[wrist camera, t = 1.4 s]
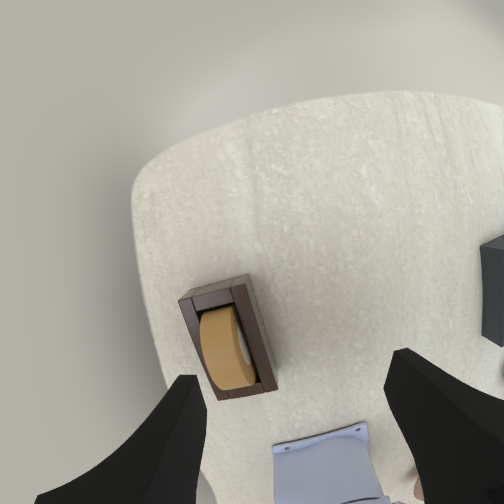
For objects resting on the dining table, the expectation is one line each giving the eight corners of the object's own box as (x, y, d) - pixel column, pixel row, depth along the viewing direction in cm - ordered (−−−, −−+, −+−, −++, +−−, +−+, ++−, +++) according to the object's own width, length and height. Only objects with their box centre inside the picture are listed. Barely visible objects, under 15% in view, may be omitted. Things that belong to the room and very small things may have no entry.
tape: (232, 365, 20) (222, 406, 15) (210, 301, 20) (190, 329, 14) (257, 359, 20) (254, 401, 15) (237, 295, 20) (226, 321, 14)
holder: (223, 380, 21) (217, 401, 18) (189, 289, 20) (177, 300, 17) (277, 369, 20) (278, 390, 17) (248, 273, 20) (245, 283, 17)
